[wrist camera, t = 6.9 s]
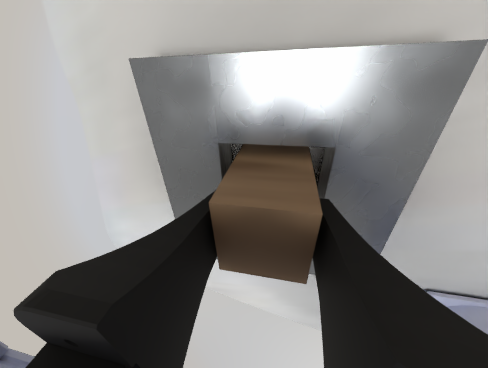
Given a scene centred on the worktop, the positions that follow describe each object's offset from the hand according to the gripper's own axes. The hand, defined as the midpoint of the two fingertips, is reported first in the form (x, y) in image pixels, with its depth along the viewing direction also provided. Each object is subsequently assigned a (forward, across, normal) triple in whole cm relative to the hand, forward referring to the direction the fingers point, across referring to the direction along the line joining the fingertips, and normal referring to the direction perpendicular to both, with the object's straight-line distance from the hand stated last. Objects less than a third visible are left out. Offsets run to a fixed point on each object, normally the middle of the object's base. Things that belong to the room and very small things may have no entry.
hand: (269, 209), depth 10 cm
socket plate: (+4, 0, 0) cm, 4 cm away
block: (+4, 0, 0) cm, 4 cm away
